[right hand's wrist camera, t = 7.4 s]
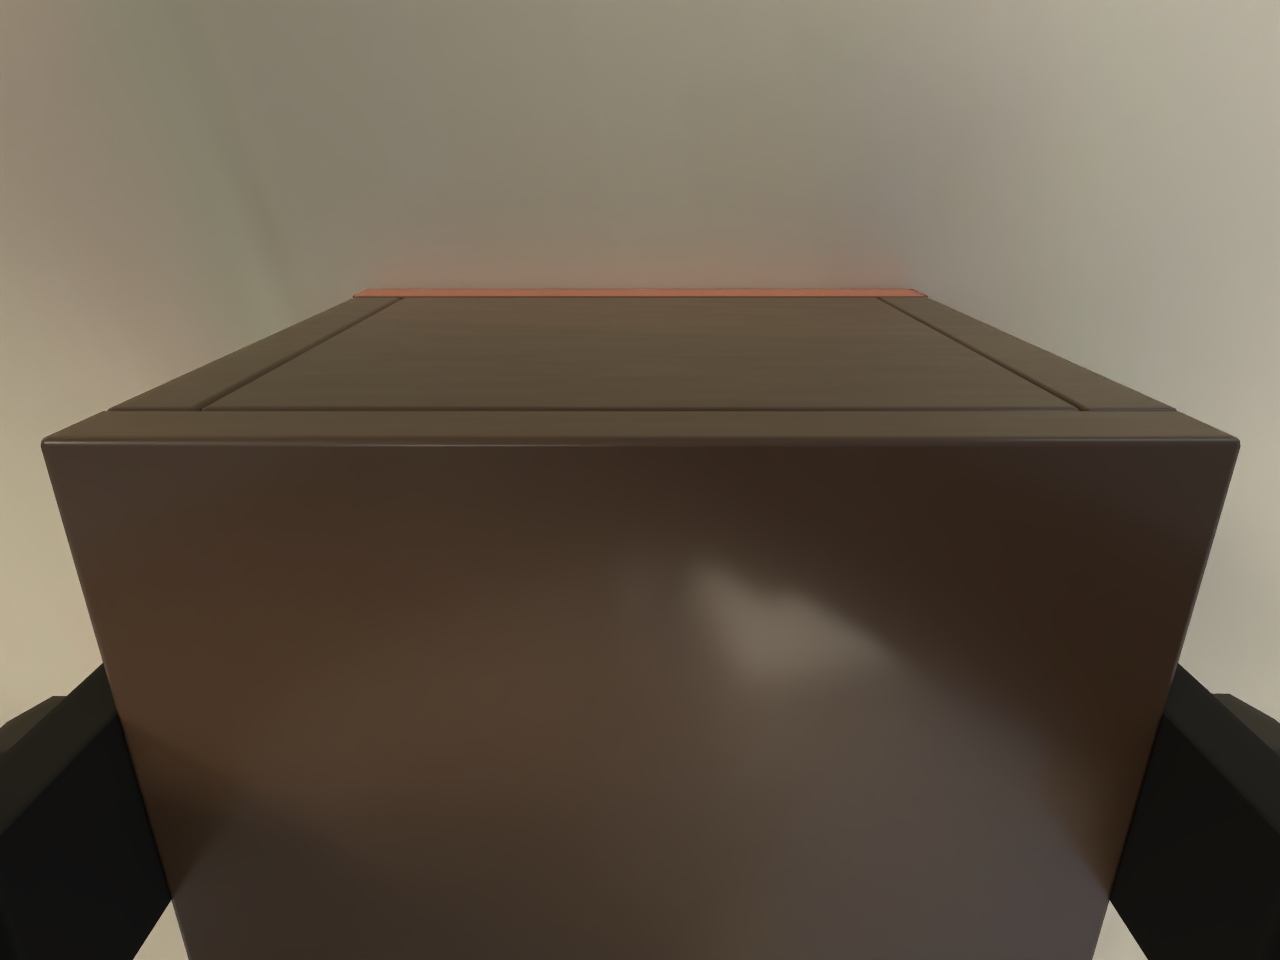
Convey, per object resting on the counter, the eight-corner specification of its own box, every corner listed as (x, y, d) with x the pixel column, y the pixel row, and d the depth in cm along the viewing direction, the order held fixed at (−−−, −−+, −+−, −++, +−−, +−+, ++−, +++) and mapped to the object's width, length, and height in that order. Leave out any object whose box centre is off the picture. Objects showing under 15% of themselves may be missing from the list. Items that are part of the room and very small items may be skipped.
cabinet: (834, 936, 23) (958, 1430, 14) (446, 936, 23) (321, 1431, 14) (912, 289, 16) (1249, 436, 7) (367, 289, 16) (31, 437, 7)
